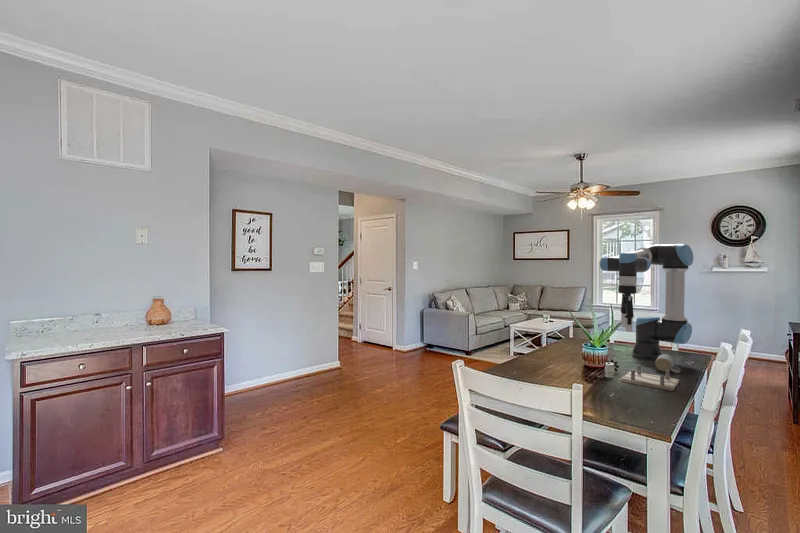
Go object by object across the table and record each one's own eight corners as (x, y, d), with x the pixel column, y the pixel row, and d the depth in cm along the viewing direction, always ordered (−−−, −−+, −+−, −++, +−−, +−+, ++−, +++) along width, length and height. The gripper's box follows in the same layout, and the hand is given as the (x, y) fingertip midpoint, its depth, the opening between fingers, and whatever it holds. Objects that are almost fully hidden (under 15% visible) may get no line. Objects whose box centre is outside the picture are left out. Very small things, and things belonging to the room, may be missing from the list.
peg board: (630, 373, 203) (630, 362, 203) (679, 382, 189) (679, 370, 189) (621, 381, 191) (621, 369, 191) (672, 391, 178) (672, 378, 178)
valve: (616, 379, 195) (619, 373, 205) (616, 365, 195) (619, 360, 205) (601, 377, 198) (604, 371, 208) (601, 363, 198) (604, 358, 208)
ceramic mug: (654, 370, 209) (654, 355, 208) (657, 367, 215) (657, 352, 215) (679, 375, 202) (679, 359, 201) (681, 371, 208) (682, 356, 208)
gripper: (615, 283, 210) (614, 324, 210) (622, 286, 186) (621, 333, 187) (631, 283, 207) (630, 325, 208) (641, 287, 184) (640, 334, 184)
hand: (626, 329), depth 197 cm, fingers open, 13 cm apart
